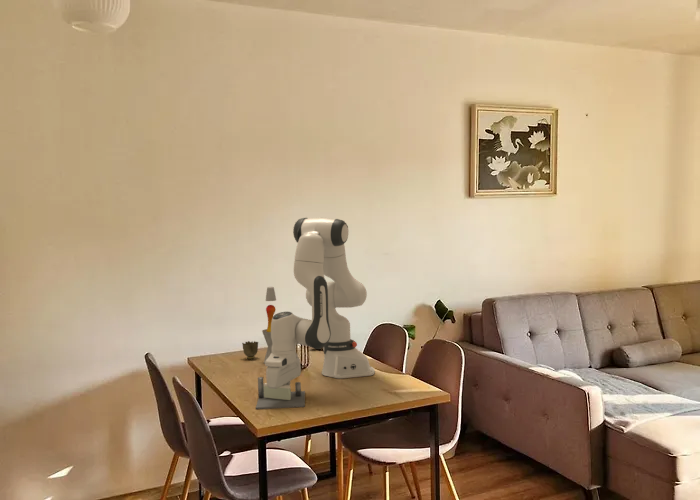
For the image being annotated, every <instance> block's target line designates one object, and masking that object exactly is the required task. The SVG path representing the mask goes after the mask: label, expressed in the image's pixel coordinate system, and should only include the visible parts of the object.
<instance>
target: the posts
mask: <svg viewBox="0 0 700 500" xmlns="http://www.w3.org/2000/svg"><path fill="white" fill-rule="evenodd" d="M294 385H295V387H294V388H295V391H294V392H295V393H296V397H299V396H301V391H302V387H301V386H302V383H301V381H296V382H295V383H294ZM257 389H258V390H257V391H258V392H257V394H258V396H257V397H258V398H264V376H258V377H257Z"/></svg>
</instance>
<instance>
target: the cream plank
mask: <svg viewBox="0 0 700 500" xmlns="http://www.w3.org/2000/svg"><path fill="white" fill-rule="evenodd" d="M263 383H264V382H263ZM291 390H292V389H291V384H290V385H282V386H280V387H279V388H277V389H272V388H268V386H267V382H265V383H264V397H265V398H274V399H283V400H290V399H291V392H292V391H291Z"/></svg>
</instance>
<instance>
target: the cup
mask: <svg viewBox="0 0 700 500" xmlns="http://www.w3.org/2000/svg"><path fill="white" fill-rule="evenodd" d="M244 342H245V343H244ZM244 342H241V343H242V349H243V354H244V355H245V356H246V358H247V360H249V359H250V361H251V359H252V360H254V359H255V358H256V355H257V354H258V347H259V341H255V340H254V341H249V340H248V341H244Z"/></svg>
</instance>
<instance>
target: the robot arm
mask: <svg viewBox="0 0 700 500" xmlns="http://www.w3.org/2000/svg"><path fill="white" fill-rule="evenodd" d="M292 229H293V231H292V232H293V237H294V240H295V242H296V243H297V245H296V249H295V255H294V261H293V275H294V279H295V280H296V281H297V283H299V285H300V286H302V287H303V288H305V289H306V292H305V299H306V302H307V303H308V305H309V306H311V319H309V318H308V319H307V318H305V317H304V318H303V317H300V316H297V315H295V314H293V312H292V311H280V312H278V313H274V315H273V318H272V322H271V339H272V353H271V354H270V356H269V357H268V358H267V360H266V361H265V364H264V365H265V367H266V371H265V372H266V373H265V375H266V377H265V378H266V383H267V386H268V388H272V389H277V388H279V387H280V386H282V385H290V386H291V381H292V380H294V379H297V378H298V377H300V376H301V373H302V369H301V368H302V366H301V359H300V357H299V355H298V353H297V345H301V346H305V347H309V348H311V349H312V348H313V349H315V350H321V348H323V350H322V351H323V354H324V355H323V357H324V358H323V365H322V370H321V375H323V376H325V377H330V378H335V379H347V378H348V379H349V378H359V377H360V378H361V377H368V376H373V375H375V373H376V371H375V368H374V367H373V366H371V365H370V362H369V358H368V357H367V355H365V354H364V353H363V352H361V350H358V348H357V346H358V343H357V341H355V340H354V339H351V323H350V320H349V319H348V318H346V317H345V316H343V315H341V314H339V312H337V310H336V308H338V309H339V308H347V309H348V308H355V307H361V306H362V305H364V303H366V300H367V296H368V295H367V294H368V293H367V290H366V287H365V285H364V284H363V283H362V282H360V281H358V280H357V279H356V278H355V277H354V276H353V275H352V274H351V272H350V270H349V267H348V263H347V257H346V248H345V247H346V246H345V243H346V242H347V241H348V238H349V226H348V224H347V222H345V220H342V219H339V218H329V217H309V218H308V217H302V218H299V219H297V220H296V221H295V222H294V226H293V228H292ZM325 277H327V278H329V279H331V280H332V281H327V280H326V279H325Z"/></svg>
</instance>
